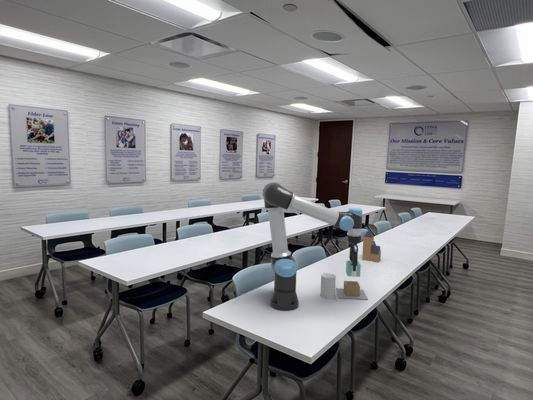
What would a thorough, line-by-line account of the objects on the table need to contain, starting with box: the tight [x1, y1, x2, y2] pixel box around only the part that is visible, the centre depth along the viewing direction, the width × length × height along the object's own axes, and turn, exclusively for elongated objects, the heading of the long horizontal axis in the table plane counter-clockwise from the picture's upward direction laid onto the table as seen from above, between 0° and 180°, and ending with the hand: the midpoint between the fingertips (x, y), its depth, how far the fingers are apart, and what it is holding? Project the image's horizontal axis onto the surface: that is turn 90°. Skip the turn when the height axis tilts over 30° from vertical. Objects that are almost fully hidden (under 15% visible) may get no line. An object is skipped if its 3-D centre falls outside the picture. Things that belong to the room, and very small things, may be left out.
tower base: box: [335, 280, 369, 301], centre depth 198 cm, size 16×14×7 cm
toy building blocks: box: [361, 228, 382, 264], centre depth 272 cm, size 12×19×25 cm
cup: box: [319, 272, 337, 300], centre depth 195 cm, size 8×8×12 cm
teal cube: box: [345, 260, 362, 278], centre depth 196 cm, size 7×7×7 cm
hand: (352, 273), depth 196 cm, fingers closed on teal cube, 7 cm apart
